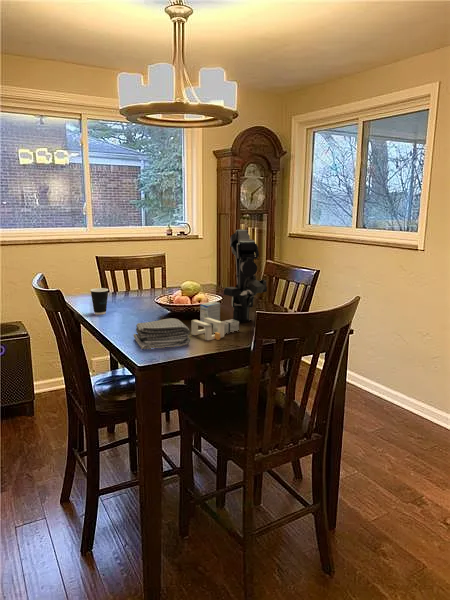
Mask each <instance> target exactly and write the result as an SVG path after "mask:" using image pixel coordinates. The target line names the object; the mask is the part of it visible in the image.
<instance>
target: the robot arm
mask: <svg viewBox="0 0 450 600" xmlns="http://www.w3.org/2000/svg"><path fill="white" fill-rule="evenodd" d="M229 247H230V248H231V253H232V254H233V255H234V258H235V267H236V269H235V270H236V285H235V286H228V287H227V286H226V287H225V288H224V289H223V295H224V296H228V297H231V306H232V308H233V312H232V314H233V315H232V317H233V318H232V319H233V320H237V321H239V323H240V322H242V323H246V322H245V321H247V322H251V321H250V320H252V318H250V308H253V307H254V300H255V296H256V295H257V294H263V293H264V292H265V293H267V292H268V286H267V280H266V279H260V280H257V276H256V273H257V271H258V265H257V264H256V262H255V260H258V259H259V256H260V253H259V247H258V245H257V243H256V241H255V240H254V239H251V235H250V234H249V231H248V229H243V228H242V229H236V230H235V232H234V233H233V234H231V236H230V239H229Z"/></svg>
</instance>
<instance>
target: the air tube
mask: <svg viewBox="0 0 450 600" xmlns="http://www.w3.org/2000/svg"><path fill="white" fill-rule="evenodd" d="M220 321H221V320H220ZM221 322H224V335H227V334H231V333H230V332H232V333H235V332H234V331H237V332H239V331H240V322H239V321H237V320H233V318H231V319H226V320H222V321H221ZM238 330H239V331H238ZM215 332H218V325H216V324H213V325H212V333H213V334H214V333H215ZM226 333H227V334H226Z"/></svg>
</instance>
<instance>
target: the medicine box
mask: <svg viewBox="0 0 450 600" xmlns="http://www.w3.org/2000/svg"><path fill="white" fill-rule="evenodd" d="M199 307H200V308H199V309H200V312H199V313H200V315H199V317H200V320H199V321H202V322H204V318H207V317H209V318H212V319H215V320H218V321H221V303H220V302H217V301H209V302H205V303H200V305H199ZM210 324H211V325H212V326H213V323H210Z"/></svg>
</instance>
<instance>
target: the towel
mask: <svg viewBox="0 0 450 600" xmlns="http://www.w3.org/2000/svg"><path fill="white" fill-rule="evenodd" d="M135 331H136V333H134V334H133V338H134V340H135V342H136V343H137V345H138V346H139V347H140V349H141V350H142V349H149V350H152V349H151V348H160V349H166V348H165V347H170V348H176V347H175V346H180V347H183V346H187V345H189V343H190V342H191V338H190V337H189V336H190V334H191V330H190V329H189V327H188V326H187V325H186V324H185V323H184V322H182V321H181V320H180V319H178V318H172V317H171V318H163V319H159V320H155V321H148V322H147V321H146V322H138V323H137V324H136V327H135Z"/></svg>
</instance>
